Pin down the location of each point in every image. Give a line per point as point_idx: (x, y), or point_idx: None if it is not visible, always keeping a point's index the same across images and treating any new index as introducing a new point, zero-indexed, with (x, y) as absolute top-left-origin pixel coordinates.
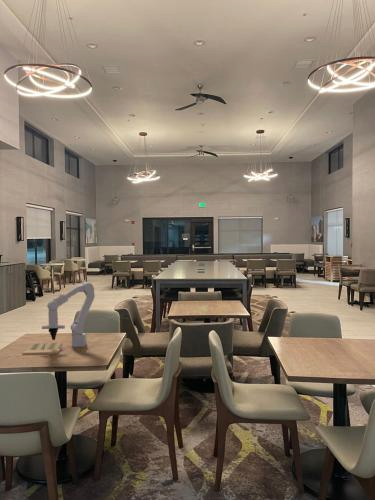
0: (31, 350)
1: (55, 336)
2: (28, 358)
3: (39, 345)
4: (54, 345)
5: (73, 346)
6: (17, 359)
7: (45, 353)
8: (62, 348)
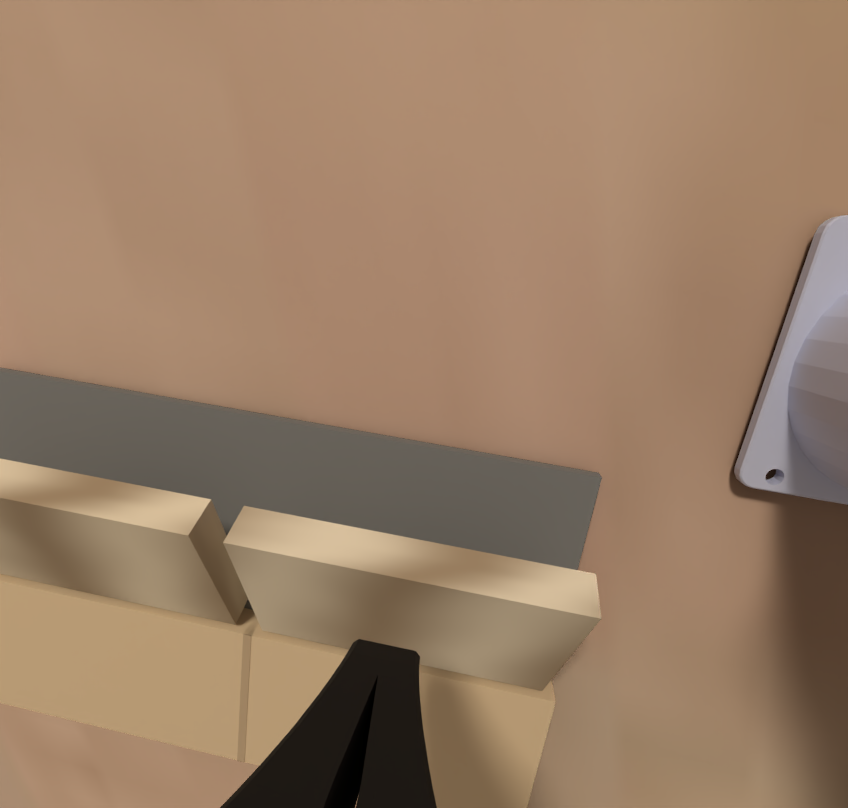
0: (64, 617)
1: (417, 738)
2: (154, 796)
3: (108, 548)
4: (426, 620)
5: (826, 473)
6: (38, 789)
7: None
8: (577, 519)
